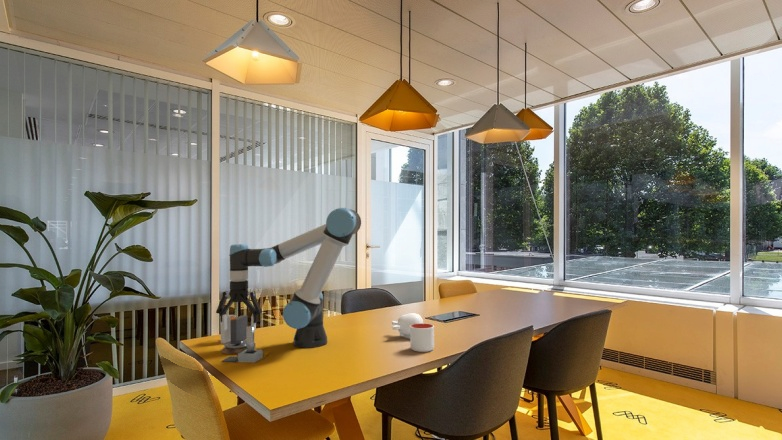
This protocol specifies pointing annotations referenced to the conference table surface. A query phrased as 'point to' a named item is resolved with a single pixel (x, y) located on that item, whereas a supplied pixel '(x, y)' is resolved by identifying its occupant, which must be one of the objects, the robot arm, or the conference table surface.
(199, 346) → the conference table surface
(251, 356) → the eye block
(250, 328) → the rod
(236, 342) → the lever on round base
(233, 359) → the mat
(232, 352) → the plinth
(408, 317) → the piggy bank
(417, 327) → the cup
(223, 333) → the mug
